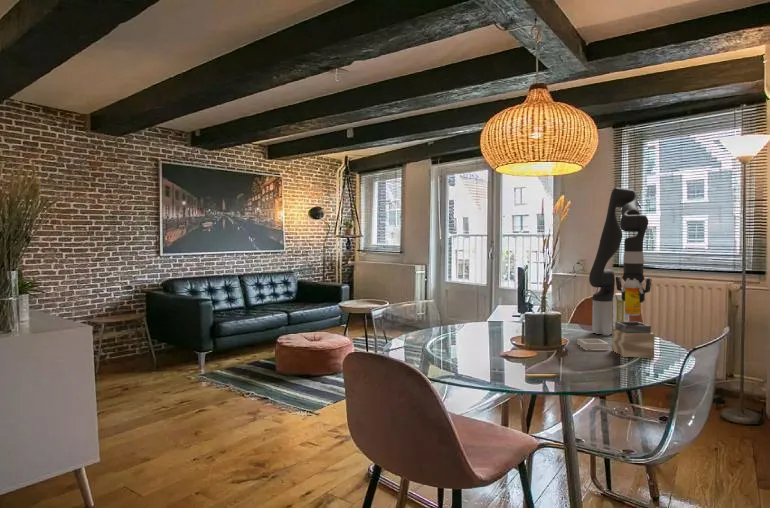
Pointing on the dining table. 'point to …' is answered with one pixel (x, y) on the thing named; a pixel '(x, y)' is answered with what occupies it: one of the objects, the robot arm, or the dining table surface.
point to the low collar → (593, 343)
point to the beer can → (632, 298)
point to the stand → (633, 339)
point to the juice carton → (619, 309)
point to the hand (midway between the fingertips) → (633, 301)
